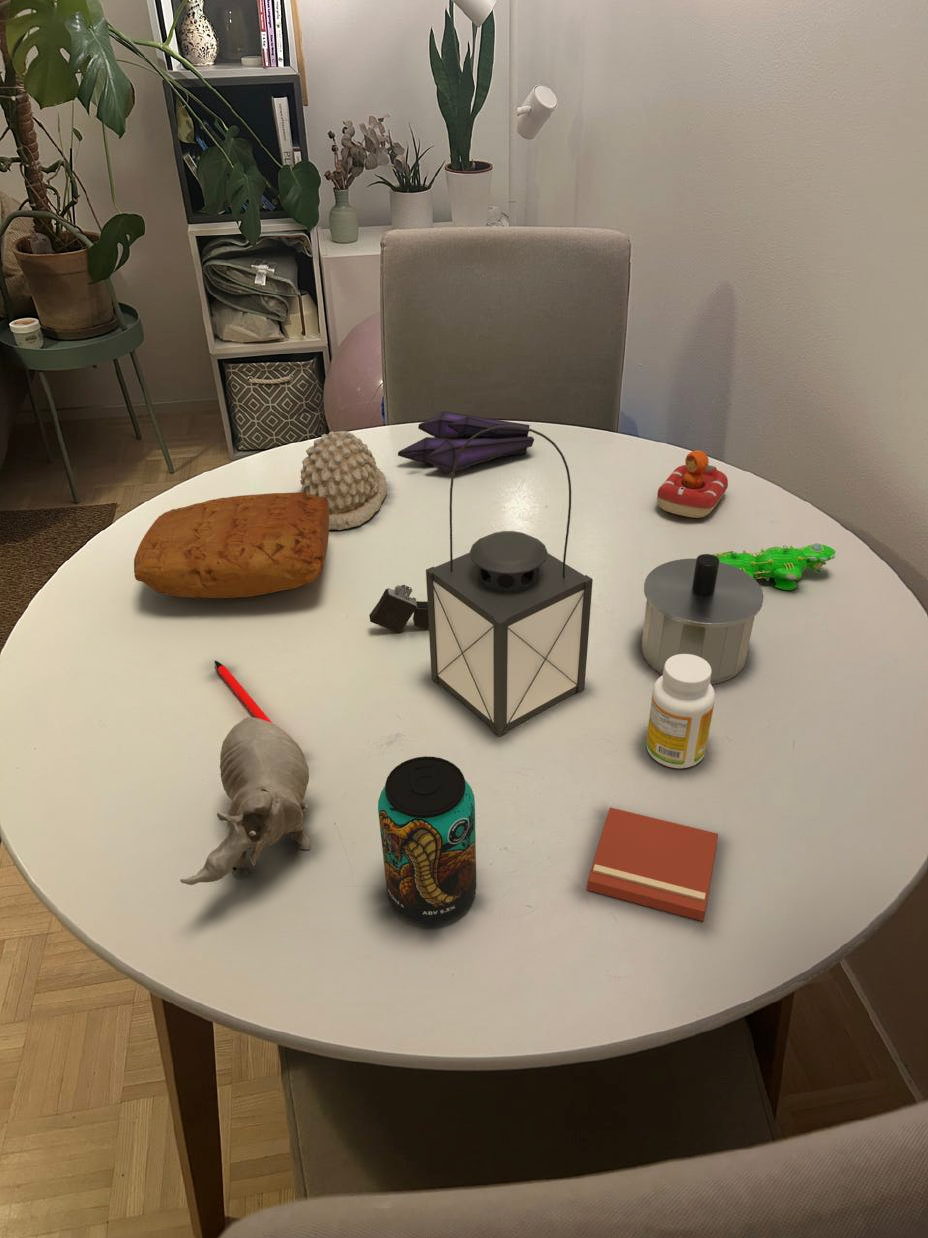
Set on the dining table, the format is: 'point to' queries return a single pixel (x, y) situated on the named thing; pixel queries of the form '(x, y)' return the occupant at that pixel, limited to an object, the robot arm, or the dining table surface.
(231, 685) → the pen
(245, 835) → the grey rounded figure
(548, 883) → the dining table surface
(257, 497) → the cuneiform tablet
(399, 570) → the dining table surface
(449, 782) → the beverage can
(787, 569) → the green elongated plastic piece
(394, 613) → the lighter
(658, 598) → the pot lid
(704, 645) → the pot
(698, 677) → the supplement bottle
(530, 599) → the lantern
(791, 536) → the dining table surface
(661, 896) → the book
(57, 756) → the dining table surface
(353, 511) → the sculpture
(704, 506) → the toy boat
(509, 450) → the crystal
